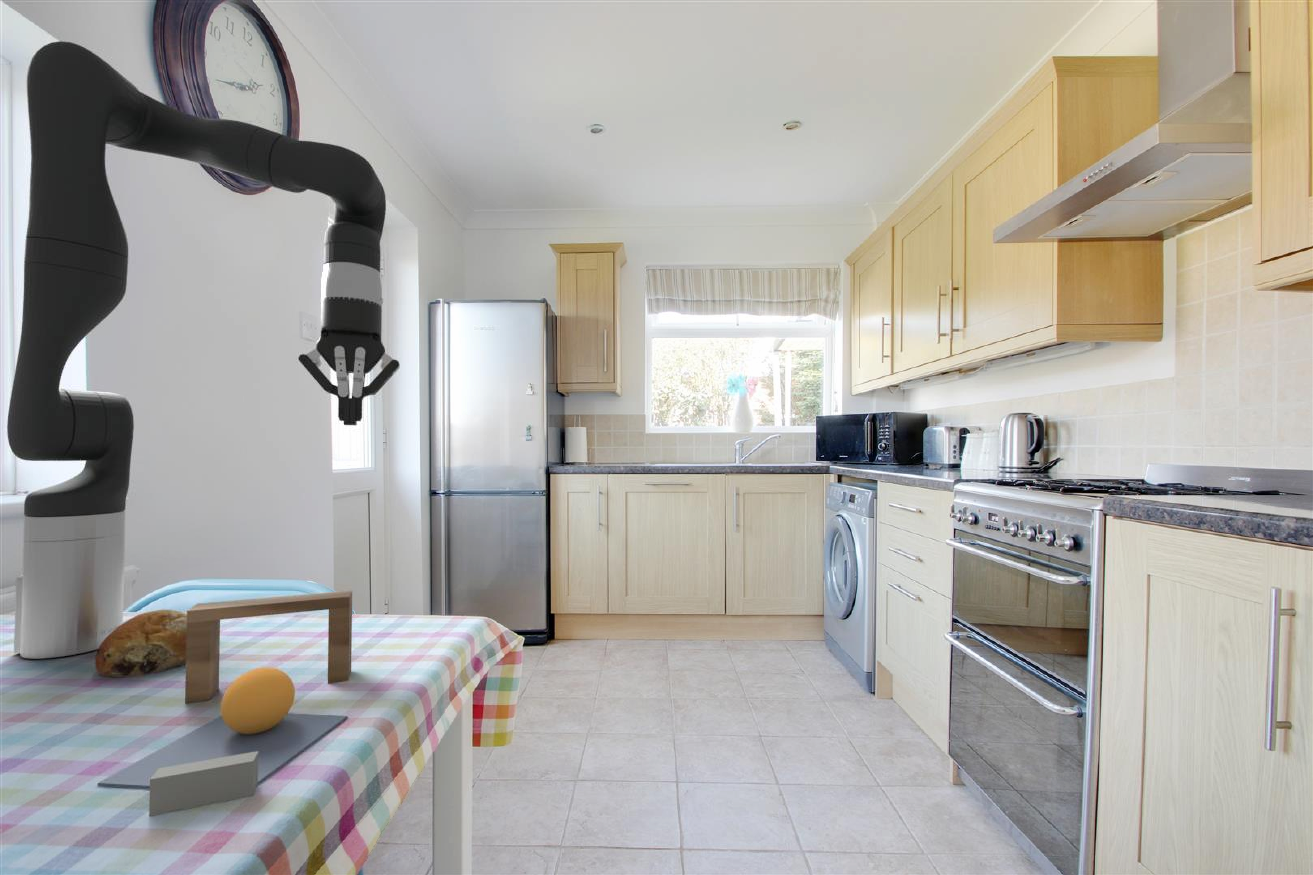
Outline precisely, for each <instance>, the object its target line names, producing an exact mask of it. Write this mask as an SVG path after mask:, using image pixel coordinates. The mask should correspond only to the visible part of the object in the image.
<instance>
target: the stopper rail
mask: <svg viewBox="0 0 1313 875" xmlns="http://www.w3.org/2000/svg"><path fill="white" fill-rule="evenodd" d="M258 752H259V751H256V752H250V753H245V754H239V755H233V756H227V757H221V758H216V759H210V760H204V761H198V762H192V763H187V764H181V765H175V766H169V767H164V768H159V769H158V770H157V771H156V772H155V774H154V775H153V776H152V777H151V779H150V789H149V800H148V801H149V804H148V805H149V808H148V816H149V817H151V816H156V815H160V814H166V813H170V812H171V813H172V812H176V811H181V810H186V809H190V808H196V807H201V806H207V805H211V804H216V803H221V802H227V801H232V800H236V799H241V798H246V797H252V796H254V794H255V791H256V790H257V787H258V785H259V784H258Z"/></svg>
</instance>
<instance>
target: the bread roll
mask: <svg viewBox="0 0 1313 875" xmlns="http://www.w3.org/2000/svg"><path fill="white" fill-rule="evenodd" d="M186 634H187V613H185V612H182V611H179V610H174V609H158V610H153V611H147V612H144V613H140V614H138V615H136V616H133V617H132V618H129V619H127V620H126V621H124V622H123V624H121V625H120V626H119V627H117V628H116V629H115V630H114V631H113V632H111V633H110V634H109V635H108V636H107V637H106V638H105V640H104V641H103V642H102V643H101V645H100V646H99V648H98V649H97V651H96V652H97V653H96V656H95V661H94V667H95V670H96V671H97V673H98V674H99V675H101V676H103V677H105V676H111V677H113V678H124V677H125V676H126V677H138V676H143V675H144V676H145V675H149V674H152V673H158V672H163V671H166V670H170V669H173V668H177V667H180V666H183V665H184V666H185V665H186ZM111 677H110V678H111Z"/></svg>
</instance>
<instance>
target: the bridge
mask: <svg viewBox="0 0 1313 875" xmlns="http://www.w3.org/2000/svg"><path fill="white" fill-rule="evenodd" d="M326 610H328V630H327V631H328V633H327V634H328V635H327V636H328V637H327V638H328V639H327V640H328V641H327V642H328V643H327V644H328V645H327V647H328V648H327V652H328V653H327V684H332V683H338V682H346V681H349V679H350V677H351V672H352V641H353V640H352V637H353V636H352V635H353V633H352V632H353V630H352V629H353V627H352V625H353V590H344V591H343V590H341V591H331V592H329V591H328V592H319V593H318V592H317V593H307V594H296V595H295V594H294V595H284V596H273V597H260V598H259V597H258V598H249V599H236V600H224V601H222V600H221V601H215V602H201V603H200V602H199V603H197V604H195V605H194V606H192V607H191V608H189V609H187V610H186V614H187V634H186V664H185V686H184V688H185V691H184V696H185V697H184V704H188V703H194V702H203V701H208V700H209V701H210V700H211V699H212V697H213V696H214V695H215V694H216V693H217V692H218V690H219V689H220V654H221V653H220V652H221V651H220V649H221V648H220V645H221V642H220V641H221V638H220V637H221V620H230V619H232V620H233V619H242V618H251V617H252V618H253V617H254V618H255V617H263V616H264V617H265V616H271V615H272V616H274V615H284V614H285V615H286V614H294V613H304V612H317V611H326Z"/></svg>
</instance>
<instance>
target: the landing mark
mask: <svg viewBox="0 0 1313 875" xmlns="http://www.w3.org/2000/svg"><path fill="white" fill-rule="evenodd" d="M347 719H348V715H334V714H333V715H332V714H311V713H310V714H309V713H289V712H288V714H287V715H286V716H285V717H284V719H283V720H282V721H280V722H279V723H278V724H277V725H275V726H274V727H272V728H270V729H269V730H266V731H264V732H261V733H257V734H242V733H238V732H236V731H233V730H232V729H230V728H229V727H228V726H227V725H226V724H225V722H224V720H223V718H222V715H220V716H218V717H216V718H214V719H212V720H211V721H209V722H206V723H205V724H203V725H201V726H198V728H195V729H194V730H192V731H191V732H188V733H187V734H185V735H183V736H181V737H179V738H178V739H176V740H174V741H172V742H170V743H168V744H166V745H164V746H163V747H161V748H159V749H157V750H156V751H154V752H152V753H150V754H148V755H146V756H144V757H143V758H141V759H139V760H137V761H135V762H133V763H132V764H129V765H127V766H126V767H124V768H122V769H121V770H118V771H117V772H115V773H113V774H112V775H109V776H108V777H106V778H104V779H102V780H100V781H99V782H97V787H112V786H113V787H116V786H117V787H116V788H130V787H131V789H133V788H134V789H148V790H150V779H151V777H152V776H153V775H154V774H155V772H156V771H157V770H158V769H159V768H164V767H169V766H175V765H181V764H187V763H192V762H198V761H204V760H210V759H216V758H221V757H227V756H233V755H239V754H245V753H250V752H256V751H259V752H258V785H260V784H261V783H262V782H264V781H266V779H268V778H269V777H270V776H272V775H273V774H275V772H277V771H279V770H280V769H281V768H283V767H284V766H285V765H287V764H288V763H289V762H290V761H292V760H293V759H295V758H296V757H297V756H298V755H300V754H301V753H303V752H304V751H306V749H307V750H308V748H309V747H311V746H312V745H313V744H315V743H316V742H317V741H319V740H320V739H322V738H323V737H324V736H326V735H327V734H328V733H330V732H331V731H332V730H333V729H335V728H336V727H338V725H340V724H341V723H343V722H344V721H345V720H347Z"/></svg>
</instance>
